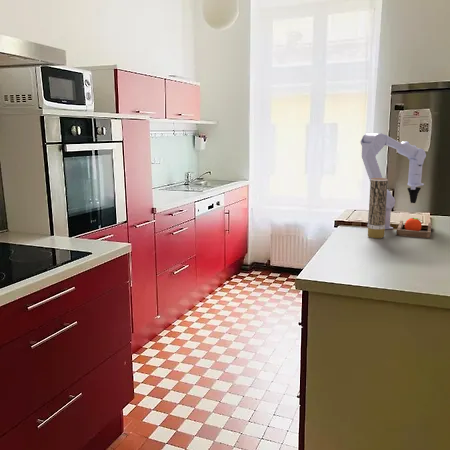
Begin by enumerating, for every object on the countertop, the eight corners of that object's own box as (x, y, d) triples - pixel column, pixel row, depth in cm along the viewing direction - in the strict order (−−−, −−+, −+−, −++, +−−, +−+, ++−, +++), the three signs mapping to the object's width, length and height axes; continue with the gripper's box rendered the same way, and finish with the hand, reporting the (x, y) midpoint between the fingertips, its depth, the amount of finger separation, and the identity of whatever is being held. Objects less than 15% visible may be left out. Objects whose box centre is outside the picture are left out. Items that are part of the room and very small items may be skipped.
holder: (429, 238, 199) (430, 232, 198) (396, 235, 204) (396, 229, 204) (431, 228, 217) (431, 222, 217) (400, 225, 223) (400, 220, 222)
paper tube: (382, 235, 205) (385, 177, 200) (385, 239, 198) (389, 179, 193) (366, 235, 206) (369, 177, 200) (369, 238, 199) (372, 179, 194)
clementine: (422, 232, 210) (424, 216, 208) (424, 235, 203) (425, 219, 202) (403, 231, 212) (404, 215, 210) (404, 234, 205) (405, 218, 204)
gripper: (423, 176, 212) (421, 205, 215) (425, 172, 225) (423, 200, 228) (406, 175, 215) (404, 204, 218) (409, 172, 228) (407, 200, 231)
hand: (413, 202), depth 223 cm, fingers closed
